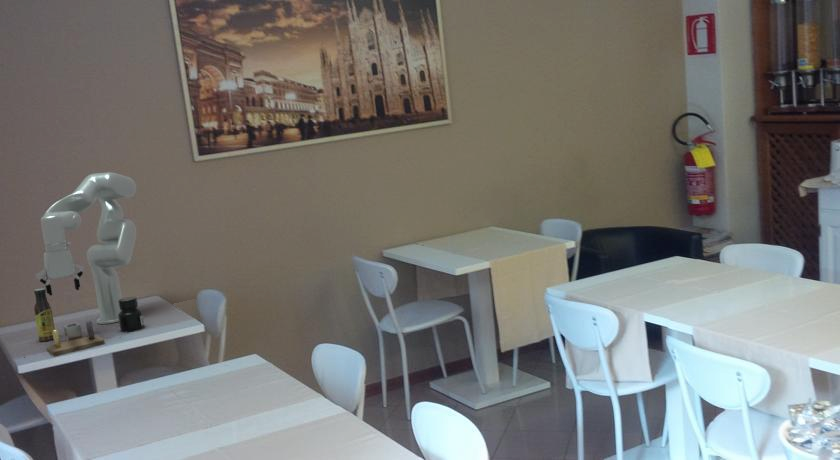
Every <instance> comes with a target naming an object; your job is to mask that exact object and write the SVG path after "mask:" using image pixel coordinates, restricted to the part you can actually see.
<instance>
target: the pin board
mask: <svg viewBox="0 0 840 460" xmlns="http://www.w3.org/2000/svg"><path fill="white" fill-rule="evenodd" d="M85 324H86V325H85V326H86V331H87V335H88V336H85V337H83V336H82V338H79V339H75V340H71V341H62V342H60V343H61V347H60V348H55V344H50V345H47V346H45V347H46V348H45V349H46V351H47V352H48V353H49V354H51V356H52V357H58V356H61V355H65V354H69V353H75V352H78V351H81V350H84V349H85V350H86V349H89V348H93V346H94V347H97V346H101V345H105V344H106V343H105V339H103V338H102V337H101V336H99V335H98V334H95V333H94V329H93V322H92V321H91V320H90V321H87V322H85Z"/></svg>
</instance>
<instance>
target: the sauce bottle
mask: <svg viewBox="0 0 840 460" xmlns="http://www.w3.org/2000/svg"><path fill="white" fill-rule="evenodd" d="M33 293H34V296H35V301H36V302H35V304H34V308H33V309H34V310H33V311H34V319H35V325H36V332H37V336H38V340H39V341H40V342H46V341H47V342H48V341H52V340H54V338H53V333H52V330H55V329H56V328H55V322H54V316H53V309H52V307H51V305H50V303H49V302H48V299H47V295H46V294H47V290H46V287H44V288H43V287H42V288H37V289H36V288H35V289H34V291H33Z"/></svg>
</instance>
